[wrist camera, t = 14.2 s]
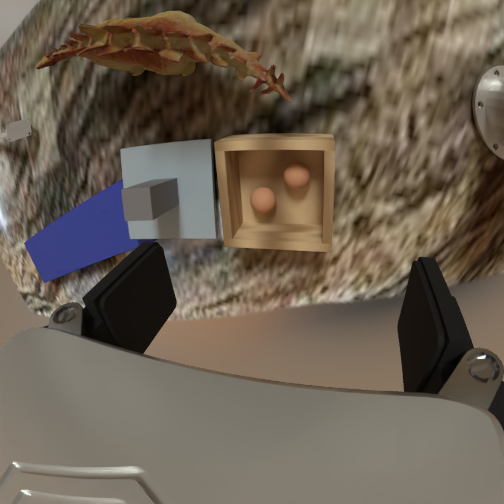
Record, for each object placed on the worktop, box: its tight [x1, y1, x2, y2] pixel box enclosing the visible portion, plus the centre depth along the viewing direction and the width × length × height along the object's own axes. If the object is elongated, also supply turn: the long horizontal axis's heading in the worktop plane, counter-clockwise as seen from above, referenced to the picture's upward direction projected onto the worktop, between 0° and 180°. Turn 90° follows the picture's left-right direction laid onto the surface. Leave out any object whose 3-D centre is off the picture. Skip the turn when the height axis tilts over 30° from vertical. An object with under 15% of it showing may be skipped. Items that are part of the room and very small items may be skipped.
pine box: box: [214, 133, 335, 252], centre depth 33 cm, size 12×12×6 cm
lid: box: [121, 139, 218, 239], centre depth 33 cm, size 12×12×9 cm
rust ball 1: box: [250, 187, 276, 213], centre depth 35 cm, size 3×3×3 cm
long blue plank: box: [24, 179, 157, 283], centre depth 46 cm, size 34×3×10 cm
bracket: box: [0, 118, 31, 142], centre depth 39 cm, size 3×21×10 cm, turn 90°
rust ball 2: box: [284, 162, 311, 189], centre depth 32 cm, size 3×3×3 cm
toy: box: [36, 11, 292, 102], centre depth 24 cm, size 9×32×15 cm, turn 74°
